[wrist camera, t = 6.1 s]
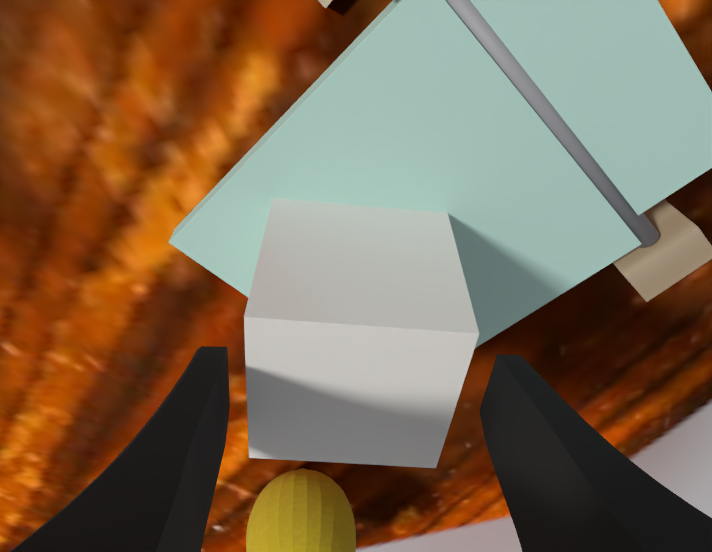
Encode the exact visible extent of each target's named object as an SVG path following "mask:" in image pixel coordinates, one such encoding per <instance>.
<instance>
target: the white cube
mask: <svg viewBox="0 0 712 552" xmlns="http://www.w3.org/2000/svg"><path fill="white" fill-rule="evenodd" d="M244 331H245V359H246V386H247V413H248V441H249V458H263V459H281V460H299V461H317V462H335V463H353V464H371V465H389V466H407V467H425V468H436V466H437V463H438V460H439V457H440V454H441V450H442V447H443V444H444V441H445V438H446V435H447V432H448V429H449V426H450V423H451V420H452V416H453V413H454V410H455V407H456V404H457V401H458V398H459V395H460V392H461V389H462V386H463V383H464V379H465V376H466V373H467V370H468V367H469V364H470V361H471V358H472V355H473V352H474V349H475V345H476V342H477V339H478V336H479V331H478V327H477V323H476V319H475V315H474V311H473V308H472V304H471V300H470V296H469V292H468V289H467V285H466V281H465V277H464V273H463V270H462V266H461V262H460V258H459V254H458V250H457V247H456V243H455V239H454V235H453V231H452V228H451V224H450V220H449V216H448V213H442V212H430V211H418V210H407V209H395V208H383V207H371V206H359V205H348V204H336V203H324V202H312V201H300V200H289V199H277V198H273V199H272V203H271V207H270V211H269V215H268V220H267V224H266V228H265V232H264V236H263V240H262V244H261V249H260V253H259V257H258V261H257V265H256V269H255V273H254V278H253V282H252V286H251V290H250V294H249V298H248V302H247V307H246V311H245V315H244Z"/></svg>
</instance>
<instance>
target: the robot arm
mask: <svg viewBox="0 0 712 552" xmlns="http://www.w3.org/2000/svg"><path fill="white" fill-rule="evenodd" d="M229 409H230V402H229V378H228V354H227V347H204V346H201V347H200V348H199V349H198V350H197V351H196V353H195V354H194V356H193V358H192V360H191V361H190V363H189V365H188V366H187V368H186V370H185V371H184V373H183V374H182V376H181V377H180V379H179V380H178V382H177V383H176V385H175V386H174V388H173V389H172V390H171V392H170V393H169V394H168V396H167V397H166V399H165V400H164V401H163V403H162V404H161V405H160V407H159V408H158V410H157V411H156V412H155V413H154V415H153V416H152V417H151V418H150V420H149V421H148V422H147V423H146V424H145V426H144V427H143V428H142V429H141V430H140V432H139V433H138V434H137V435H136V437H135V438H134V439H133V440H132V441H131V442H130V443H129V445H128V446H127V447H126V448H125V449H124V450H123V451H122V452H121V453H120V455H119V456H118V457H117V458H116V459H115V460H114V461H113V462H112V463H111V464H110V465H109V466H108V467H107V468H106V469H105V470H104V471H103V472H102V473H101V474H100V475H99V476H98V477H97V478H96V479H95V480H94V481H93V482H92V483H91V484H90V485H89V486H88V487H86V488H85V489H84V490H83V491H82V492H81V493H80V494H79V495H78V496H77V497H76V498H75V499H74V500H72V501H71V502H70V503H69V504H68V505H67V506H66V507H65V508H63V509H62V510H61V511H60V512H59V513H57V514H56V515H55V516H54V517H53V518H51V519H50V520H49V521H48V522H46V523H45V524H44V525H43V526H41V527H40V528H39V529H38V530H37V531H35V532H34V533H33V534H32V535H30V536H29V537H28V538H27V539H26V540H24V541H23V542H22V543H20V544H19V545H18V546H16V547H15V548H14V549H12V550H11V551H10V552H201V548H202V543H203V537H204V532H205V528H206V524H207V520H208V515H209V511H210V507H211V503H212V499H213V494H214V490H215V486H216V482H217V478H218V473H219V469H220V465H221V461H222V456H223V452H224V448H225V441H226V434H227V426H228V417H229ZM480 416H481V421H482V426H483V431H484V435H485V440H486V444H487V448H488V451H489V454H490V457H491V460H492V463H493V466H494V469H495V472H496V475H497V478H498V480H499V483H500V486H501V489H502V492H503V494H504V497H505V500H506V503H507V506H508V508H509V511H510V514H511V517H512V519H513V523H514V525H515V528H516V531H517V535H518V538H519V541H520V544H521V548H522V552H712V518H710V517H709V516H707V515H706V514H704V513H703V512H701V511H699V510H698V509H696V508H695V507H693V506H692V505H690V504H689V503H687V502H686V501H684V500H683V499H682V498H680V497H679V496H677V495H676V494H674V493H673V492H671V491H670V490H668V489H667V488H666V487H664V486H663V485H661V484H660V483H659V482H657V481H656V480H655V479H653V478H652V477H651V476H649V475H648V474H647V473H646V472H644V471H643V470H642V469H640V468H639V467H638V466H636V465H635V464H634V463H633V462H631V461H630V460H629V459H628V458H626V457H625V456H624V455H623V454H622V453H620V452H619V451H618V450H617V449H616V448H615V447H613V446H612V445H611V444H610V443H609V442H608V441H607V440H606V439H604V438H603V437H602V436H601V435H600V434H599V433H598V432H597V431H596V430H594V429H593V428H592V427H591V426H590V425H589V424H588V423H587V422H586V421H585V420H584V419H583V418H582V417H581V416H580V415H579V414H578V413H577V412H575V411H574V410H573V409H572V408H571V407H570V406H569V405H568V404H567V403H566V402H565V401H564V400H563V399H562V398H561V396H560V395H559V394H558V393H557V392H556V391H555V390H554V389H553V388H552V387H551V386H550V385H549V384H548V383H547V382H546V381H545V380H544V379H543V378H542V377H541V376H540V375H539V374H538V373H537V372H536V371H535V370H534V369H533V367H532V366H531V365H530V364H529V363H528V362H527V361H526V360H525V359H524V358H523V357H522V356H521V355H497V357H496V360H495V363H494V367H493V370H492V373H491V376H490V379H489V382H488V386H487V389H486V392H485V395H484V398H483V401H482V404H481V408H480Z"/></svg>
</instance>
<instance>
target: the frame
mask: <svg viewBox="0 0 712 552" xmlns="http://www.w3.org/2000/svg"><path fill="white" fill-rule="evenodd" d="M318 1H319V2H320V3H321V4H322V5H323V6H324V7H325V8H326V7H327V6H328V5H329V4H330V3H331V1H332V0H318ZM643 213H644V214H645V216H646V217H647V218H648V220H649V221H650V222H651V223H652V225H653V226H654V227H655V229H656V230H657V231H658V233H659V238H658V240H657V241H656V242H655V243H654V244H653V245H651V246H649V247H646V248H640V247H636V248H635V249H633V250H631V251H630V252H628V253H627V254H625V255H623V256H622V257H620V258H619V259H617V260H615V261H614V262H612V263H613V264H614V265H615V266H616V267H617V268H618V270H619V271H620V272H621V273H622V274H623V275H624V276H625V278H626V279H627V280H628V281H629V282H630V283H631V285H632V286H633V287H634V288H635V289H636V290H637V291H638V293H639V294H640V295H641V296H642V297H643V298H644V299H645V301H646V302H648V301H649V300H651V299H652V298H654V297H655V296H657V295H658V294H660V293H661V292H663V291H664V290H666V289H667V288H669V287H670V286H672V285H673V284H675V283H676V282H678V281H679V280H681V279H682V278H684V277H685V276H687V275H688V274H690V273H691V272H693V271H694V270H696V269H697V268H699V267H700V266H702V265H703V264H705V263H706V262H708V261H709V260H711V259H712V246H711V244H710V243H709V241H708V240H707V239H706V237H705V236H704V234H703V233H702V232H701V230H700V229H699V227H698V226H697V225H695V224H694V223H693V222H692V221H690V220H689V219H688V218H687V217H685V216H684V215H683V214H682V213H680V212H679V211H678V210H677V209H675V208H674V207H673V206H672V205H671V204H669V203H668V202H667V201H666V200H664V199H663V200H661V201H660V202H658V203H657V204H655V205H654V206H652V207H651V208H649V209H648V210H646V211H645V212H643Z"/></svg>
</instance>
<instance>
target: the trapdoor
mask: <svg viewBox="0 0 712 552" xmlns="http://www.w3.org/2000/svg"><path fill="white" fill-rule="evenodd" d="M711 168H712V92H711V90H710V88H709V87H708V85H707V83H706V81H705V80H704V78H703V76H702V75H701V73H700V71H699V70H698V68H697V66H696V65H695V63H694V61H693V59H692V58H691V56H690V54H689V53H688V51H687V49H686V48H685V46H684V44H683V43H682V41H681V39H680V37H679V36H678V34H677V32H676V31H675V29H674V27H673V26H672V24H671V22H670V21H669V19H668V17H667V15H666V14H665V12H664V10H663V9H662V7H661V5H660V4H659V2H658V0H393V1H392V2H391V3H390V4H389V5H388V6H387V7H386V8H385V9H384V10H383V11H382V12H381V13H380V14H379V15H378V16H377V17H376V18H375V19H374V20H373V22H372V23H371V24H370V25H369V26H368V27H367V28H366V29H365V30H364V31H363V32H362V33H361V34H360V35H359V36H358V37H357V38H356V39H355V40H354V41H353V42H352V44H351V45H350V46H349V47H348V48H347V49H346V50H345V51H344V52H343V53H342V54H341V55H340V56H339V57H338V58H337V59H336V60H335V61H334V62H333V63H332V64H331V66H330V67H329V68H328V69H327V70H326V71H325V72H324V73H323V74H322V75H321V76H320V77H319V78H318V79H317V80H316V81H315V82H314V83H313V84H312V85H311V86H310V88H309V89H308V90H307V91H306V92H305V93H304V94H303V95H302V96H301V97H300V98H299V99H298V100H297V101H296V102H295V103H294V104H293V105H292V106H291V107H290V108H289V110H288V111H287V112H286V113H285V114H284V115H283V116H282V117H281V118H280V119H279V120H278V121H277V122H276V123H275V124H274V125H273V126H272V127H271V128H270V129H269V130H268V132H267V133H266V134H265V135H264V136H263V137H262V138H261V139H260V140H259V141H258V142H257V143H256V144H255V145H254V146H253V147H252V148H251V149H250V150H249V151H248V152H247V154H246V155H245V156H244V157H243V158H242V159H241V160H240V161H239V162H238V163H237V164H236V165H235V166H234V167H233V168H232V169H231V170H230V171H229V172H228V173H227V174H226V176H225V177H224V178H223V179H222V180H221V181H220V182H219V183H218V184H217V185H216V186H215V187H214V188H213V189H212V190H211V191H210V192H209V193H208V194H207V195H206V196H205V198H204V199H203V200H202V201H201V202H200V203H199V204H198V205H197V206H196V207H195V208H194V209H193V210H192V211H191V212H190V213H189V214H188V215H187V216H186V217H185V218H184V220H183V221H182V222H181V223H180V224H179V225H178V226H177V227H176V228H175V230H174V232H173V234H172V236H171V238H170V240H169V243H170V244H172V245H173V246H175V247H176V248H177V249H179V250H180V251H182V252H183V253H185V254H186V255H188V256H189V257H190V258H192V259H193V260H195V261H196V262H198V263H199V264H201V265H202V266H203V267H205V268H206V269H208V270H209V271H211V272H212V273H214V274H215V275H216V276H218V277H219V278H221V279H222V280H224V281H225V282H227V283H228V284H229V285H231V286H232V287H234V288H235V289H237V290H238V291H240V292H241V293H242V294H244V295H245V296H247V297H248V298H249V294H250V290H251V286H252V282H253V278H254V273H255V269H256V265H257V261H258V257H259V253H260V249H261V244H262V240H263V236H264V232H265V228H266V224H267V220H268V215H269V211H270V207H271V203H272V199H273V198H277V199H289V200H300V201H312V202H324V203H336V204H348V205H359V206H371V207H383V208H395V209H407V210H418V211H430V212H442V213H448V216H449V220H450V224H451V228H452V231H453V235H454V239H455V243H456V247H457V250H458V254H459V258H460V262H461V266H462V270H463V273H464V277H465V281H466V285H467V289H468V292H469V296H470V300H471V304H472V308H473V311H474V315H475V319H476V323H477V327H478V331H479V336H478V339H477V342H476V345H475V348H476V347H478V346H479V345H481V344H482V343H484V342H486V341H487V340H489V339H490V338H492V337H494V336H495V335H497V334H498V333H500V332H502V331H503V330H505V329H506V328H508V327H510V326H511V325H513V324H514V323H516V322H518V321H519V320H521V319H522V318H524V317H526V316H527V315H529V314H530V313H532V312H534V311H535V310H537V309H539V308H540V307H542V306H543V305H545V304H547V303H548V302H550V301H551V300H553V299H555V298H556V297H558V296H559V295H561V294H563V293H564V292H566V291H567V290H569V289H571V288H572V287H574V286H575V285H577V284H579V283H580V282H582V281H583V280H585V279H587V278H588V277H590V276H591V275H593V274H595V273H596V272H598V271H599V270H601V269H603V268H604V267H606V266H607V265H609V264H611V263H612V262H614V261H615V260H617V259H619V258H620V257H622V256H623V255H625V254H627V253H628V252H630V251H631V250H633V249H635V248H636V247H640V248H646V247H649V246H651V245H653V244H654V243H655V242H656V241H657V240H658V238H659V233H658V231H657V230H656V229H655V227H654V226H653V225H652V223H651V222H650V221H649V220H648V218H647V217H646V216H645V214H644V213H643V212H645V211H646V210H648V209H649V208H651V207H652V206H654V205H655V204H657V203H658V202H660V201H661V200H663V199H665V198H666V197H668V196H669V195H671V194H672V193H674V192H675V191H677V190H678V189H680V188H681V187H683V186H685V185H686V184H688V183H689V182H691V181H692V180H694V179H695V178H697V177H698V176H700V175H701V174H703V173H705V172H706V171H708V170H709V169H711Z"/></svg>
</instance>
